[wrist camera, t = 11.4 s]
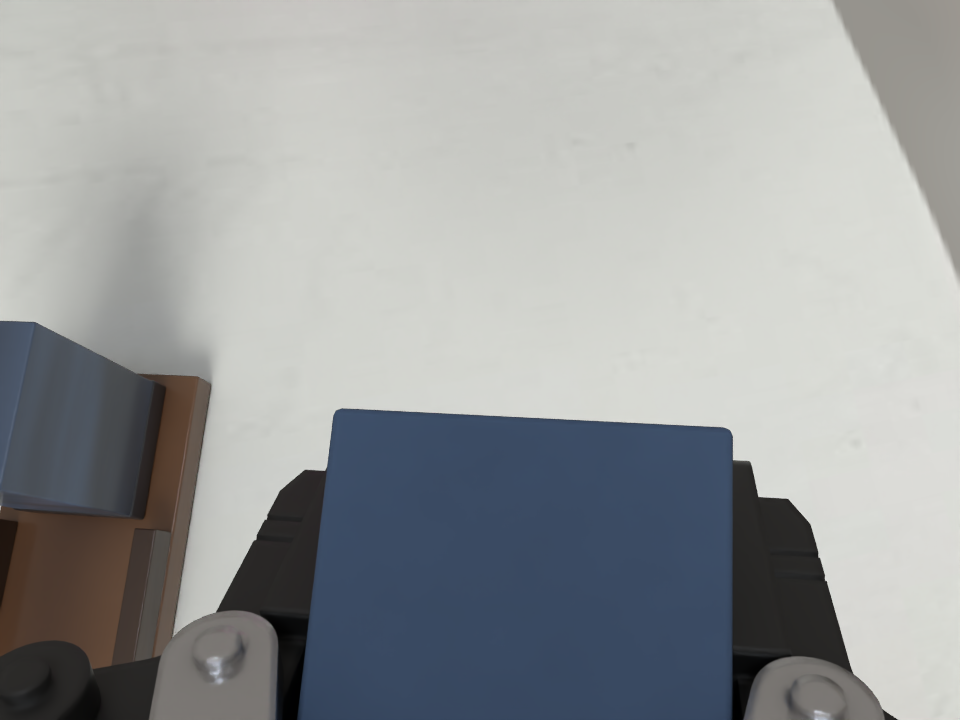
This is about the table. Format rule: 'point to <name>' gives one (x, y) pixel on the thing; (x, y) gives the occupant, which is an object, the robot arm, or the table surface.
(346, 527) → the blue rectangular block
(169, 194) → the table surface
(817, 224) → the table surface
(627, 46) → the table surface
